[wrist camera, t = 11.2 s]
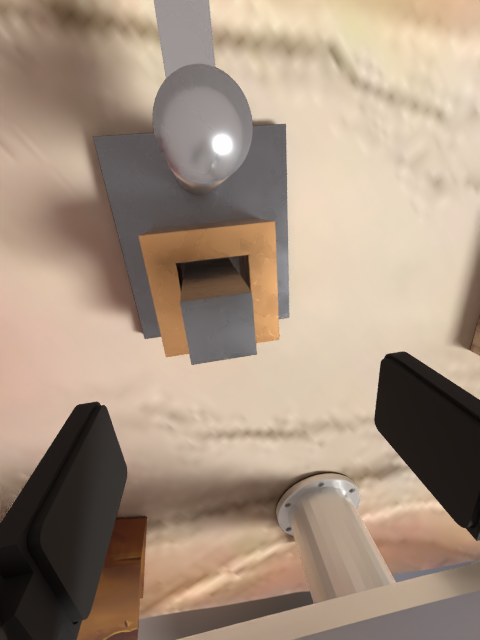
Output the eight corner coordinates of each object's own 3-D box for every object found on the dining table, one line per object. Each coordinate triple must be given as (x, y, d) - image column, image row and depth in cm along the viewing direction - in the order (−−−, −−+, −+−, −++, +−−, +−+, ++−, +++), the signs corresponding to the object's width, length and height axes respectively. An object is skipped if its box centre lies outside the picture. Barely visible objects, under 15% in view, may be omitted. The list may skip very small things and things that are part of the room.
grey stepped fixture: (286, 313, 28) (355, 393, 16) (146, 334, 26) (108, 439, 14) (277, -42, 18) (446, -535, 6) (51, -43, 16) (-327, -710, 4)
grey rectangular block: (227, 256, 24) (251, 292, 14) (231, 295, 25) (256, 354, 15) (185, 260, 23) (179, 302, 13) (192, 300, 25) (191, 364, 15)
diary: (147, 509, 37) (140, 560, 31) (143, 588, 43) (137, 641, 38) (-59, 523, 32) (-109, 586, 26) (-28, 610, 38) (-63, 674, 33)
